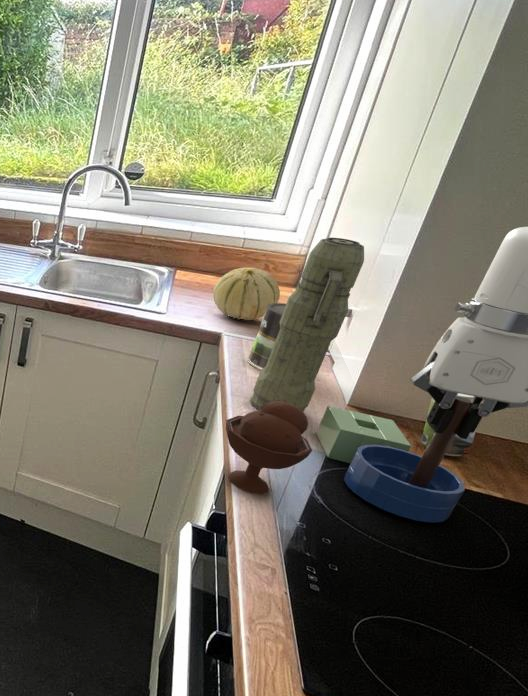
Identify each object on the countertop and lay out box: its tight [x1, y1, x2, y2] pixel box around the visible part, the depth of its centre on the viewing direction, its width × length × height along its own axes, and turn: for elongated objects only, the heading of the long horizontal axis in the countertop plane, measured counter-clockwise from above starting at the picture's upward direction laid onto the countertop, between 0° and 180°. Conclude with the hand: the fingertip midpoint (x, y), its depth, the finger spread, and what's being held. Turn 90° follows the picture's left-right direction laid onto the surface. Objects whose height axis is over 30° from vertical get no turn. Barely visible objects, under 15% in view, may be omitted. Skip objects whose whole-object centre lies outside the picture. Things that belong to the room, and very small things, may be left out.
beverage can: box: [420, 393, 477, 457], centre depth 104 cm, size 6×7×12 cm
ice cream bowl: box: [225, 401, 313, 496], centre depth 92 cm, size 11×11×15 cm
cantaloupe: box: [212, 267, 281, 321], centre depth 161 cm, size 15×15×15 cm
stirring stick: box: [408, 396, 473, 488], centre depth 88 cm, size 2×2×16 cm
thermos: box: [249, 237, 365, 414], centre depth 111 cm, size 9×12×35 cm
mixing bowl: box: [343, 445, 466, 524], centre depth 91 cm, size 12×12×6 cm
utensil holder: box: [315, 405, 412, 464], centre depth 103 cm, size 9×9×6 cm
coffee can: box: [247, 302, 287, 371], centre depth 133 cm, size 10×10×14 cm
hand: (446, 430), depth 87 cm, fingers closed on stirring stick, 2 cm apart
